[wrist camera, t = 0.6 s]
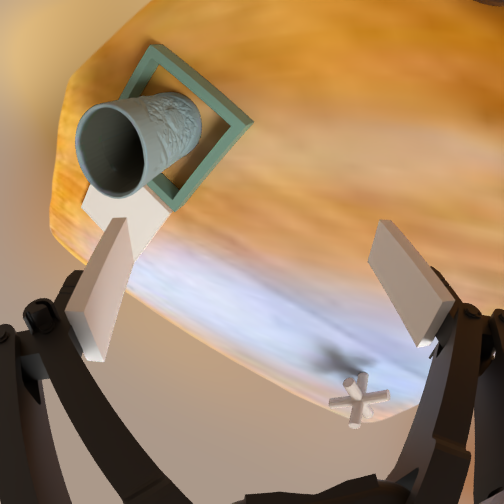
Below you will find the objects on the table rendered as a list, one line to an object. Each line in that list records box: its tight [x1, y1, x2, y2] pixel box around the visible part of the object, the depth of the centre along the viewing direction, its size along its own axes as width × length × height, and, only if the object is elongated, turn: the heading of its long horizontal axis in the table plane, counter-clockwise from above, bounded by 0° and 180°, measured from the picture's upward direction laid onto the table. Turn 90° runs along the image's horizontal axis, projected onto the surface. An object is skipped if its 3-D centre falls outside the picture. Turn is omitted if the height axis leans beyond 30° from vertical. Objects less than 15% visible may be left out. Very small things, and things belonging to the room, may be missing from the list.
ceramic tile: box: [81, 184, 173, 262], centre depth 47 cm, size 14×14×1 cm
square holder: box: [119, 45, 254, 212], centre depth 36 cm, size 15×15×2 cm
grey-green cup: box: [75, 92, 202, 199], centre depth 32 cm, size 10×10×12 cm
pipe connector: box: [329, 372, 390, 429], centre depth 44 cm, size 10×10×10 cm
